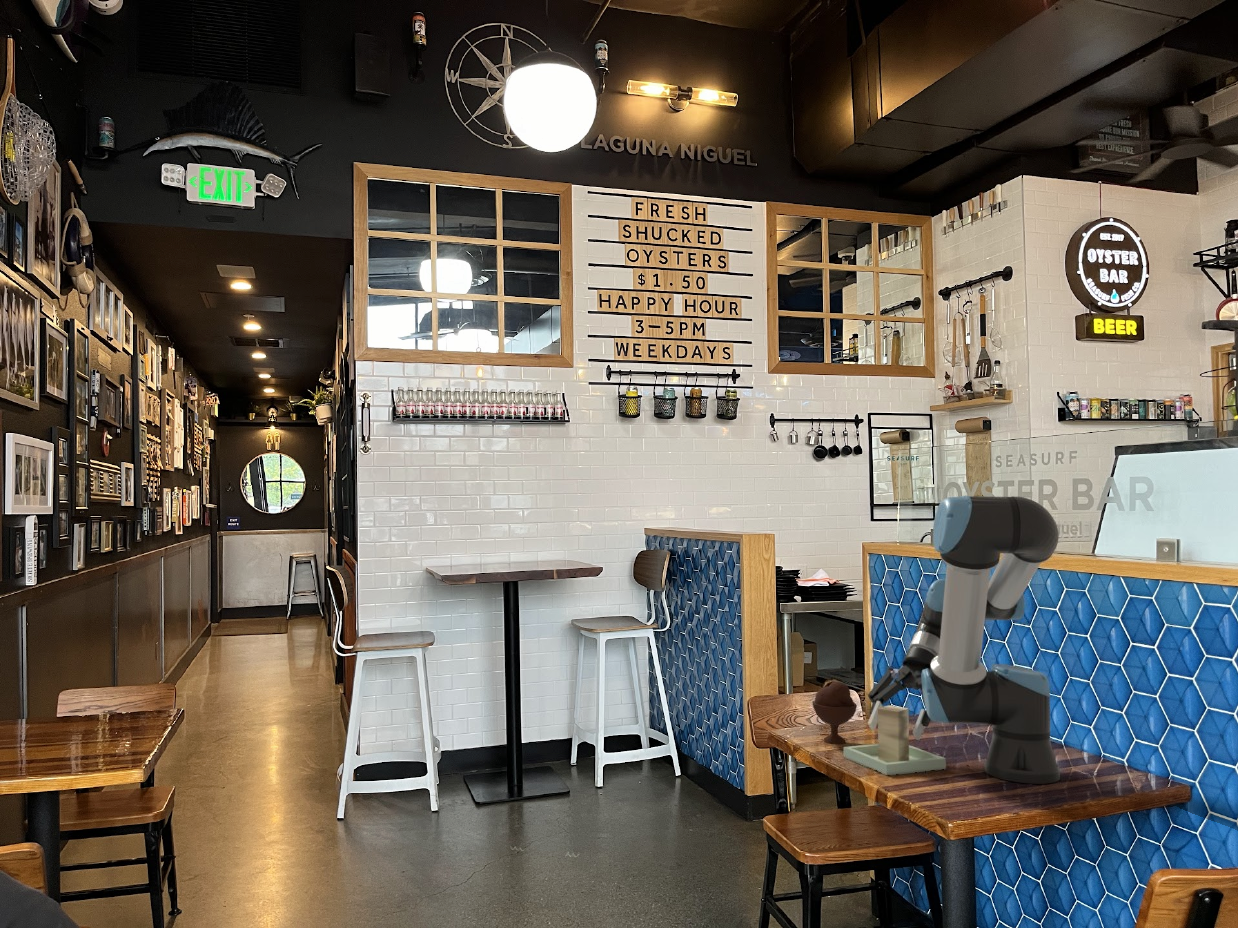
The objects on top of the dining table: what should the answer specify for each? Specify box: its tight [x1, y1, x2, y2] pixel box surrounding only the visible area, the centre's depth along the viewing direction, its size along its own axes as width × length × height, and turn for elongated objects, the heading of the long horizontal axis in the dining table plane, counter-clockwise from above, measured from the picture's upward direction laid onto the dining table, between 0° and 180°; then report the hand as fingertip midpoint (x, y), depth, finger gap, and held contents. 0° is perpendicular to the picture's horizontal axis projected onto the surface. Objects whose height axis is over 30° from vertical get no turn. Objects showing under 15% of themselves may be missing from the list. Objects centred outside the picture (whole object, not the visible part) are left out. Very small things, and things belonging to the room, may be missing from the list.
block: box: [877, 705, 910, 763], centre depth 209 cm, size 5×5×12 cm
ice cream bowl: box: [811, 681, 858, 745], centre depth 230 cm, size 11×11×15 cm
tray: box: [843, 743, 947, 776], centre depth 209 cm, size 16×16×2 cm
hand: (892, 731), depth 211 cm, fingers open, 10 cm apart
